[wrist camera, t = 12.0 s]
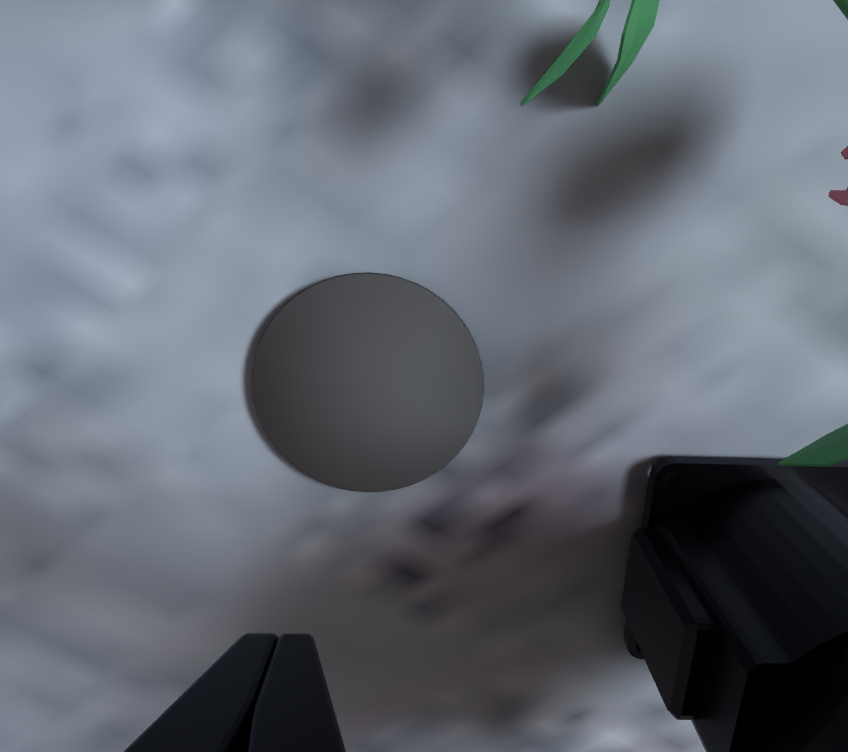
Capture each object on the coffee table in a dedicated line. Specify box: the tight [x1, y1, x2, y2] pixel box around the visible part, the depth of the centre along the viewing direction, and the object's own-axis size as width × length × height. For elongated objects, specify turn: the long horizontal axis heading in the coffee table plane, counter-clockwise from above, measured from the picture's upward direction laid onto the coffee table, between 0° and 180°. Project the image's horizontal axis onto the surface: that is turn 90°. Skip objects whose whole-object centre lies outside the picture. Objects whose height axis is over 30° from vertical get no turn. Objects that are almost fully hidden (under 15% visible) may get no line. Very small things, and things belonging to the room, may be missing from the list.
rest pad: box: [252, 273, 484, 492], centre depth 18 cm, size 6×6×1 cm
